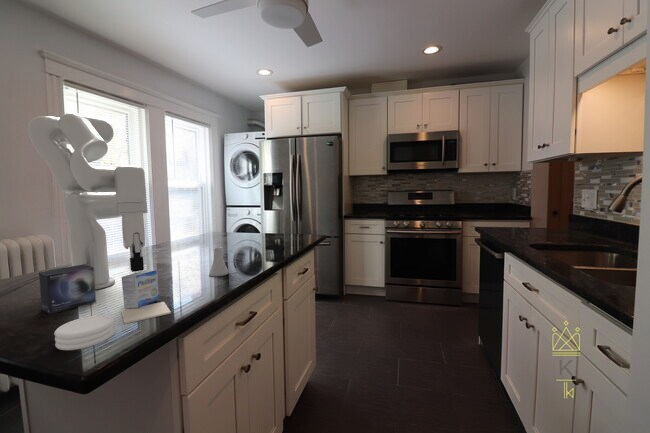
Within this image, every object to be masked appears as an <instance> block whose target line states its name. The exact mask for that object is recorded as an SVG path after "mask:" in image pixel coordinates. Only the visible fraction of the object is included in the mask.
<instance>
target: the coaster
mask: <svg viewBox="0 0 650 433" xmlns="http://www.w3.org/2000/svg"><path fill="white" fill-rule="evenodd" d="M114 321H115V319H114V318H113V317H111V316H110V315H106V314H105V315H103V314H102V315H98V314H97V315H91V316H89V315H88V316H86V317H82V318H77V319H74V320H70V321H68V322H66V323H64V324H62V325H59V327H58V328H56V330H54V333H53V335H54V336H55V337H54V341H55V344H54V345H55V348H56V349H58V350H59V351H61V350H62V351H76V350H82V349H87V348H90V347H93V346H95V345H98V344H101V343H103V342H105V341H107V340H108V339H110V338H112V336H114V334H115V331H116V330H115V323H114Z"/></svg>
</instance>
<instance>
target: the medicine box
mask: <svg viewBox="0 0 650 433" xmlns="http://www.w3.org/2000/svg"><path fill="white" fill-rule="evenodd" d="M158 280H159V279H158V271H157V270H156V269H146V270H142V271H136V272H133V273H130V274H127V275H124V276H121V286H122V287H121V288H122V298H123V308H124V309H131V308H140V307H142V306H145V305H150V304H152V303H154V302H156V301H158V300H159V299H160V294H159V293H160V292H159V284H158V283H159V282H158Z"/></svg>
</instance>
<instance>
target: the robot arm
mask: <svg viewBox="0 0 650 433" xmlns="http://www.w3.org/2000/svg"><path fill="white" fill-rule="evenodd" d="M27 128H28V130H27V131H28V136H29V140H30V141H31V144H32V147H34V150H36V152H37V153H38V154H39V156H40V157H41V158H43V160H44V162H45V163H46V165H47V166H48V168H49V170H50V173H51V175H52V176H53V178H54V180H55V182H56V184H57V186H58V188H59V189H60V191H62V192H63V193H65V194H67V195H65V197H64V198H63V201H62V208H63V213H64V215H65V216H64V217H65V218H66V219H65V220H66V221H67V227H68V233H69V234H68V235H69V243H70V244H69V245H70V255H71V256H70V257H71V266H77V265H83V264H85V265H88V266H91V267H94V282H95V291H96V290H99V289H103V288H108V287H110V286H113V285H114V284H115V283H116V279H115V278H113V277H110V270H109V268H110V267H109V257H108V243H107V234H106V231H105V228H103V226H102V225H101V223H99V222H98V220H106V219H107V220H108V219H109V220H110V219H118V218H121V230H122V243H123V244H122V245H123V248H124V249H126V250H129V254H130V257H129V265H130V270H131V272H133V273H136V272H141V271H144V269H145V265H144V256H143V248H144V247H145V246H146V234H145V228H146V227H145V219H144V214H148V213H149V212H148V202H147V201H148V200H147V187H146V174H145V170H144V169H143V167H142V166H137V165H119V166H117V167H115V166H101V165H100V166H99V165H98V166H96V165H91V164H90V163H92V162H95V161H98V160H100V159H102V158H104V157H105V156H106V154H107V153H108V148H109V147H108V144H109V143H110V142H111V141H112V140H113V139H114V129H113V125H112V124H111V123H110V122H109V121H108V120H107V119H105V118H102V117H100V116H99V117H98V116H94V115H93V116H92V115H87V114H83V113H78V112H77V113H76V112H68V113H65V114H62V115H61V116H60V117H56V116H49V115H46V116H43V115H42V116H41V115H40V116H36V117H34V118H32V119H31V120H30V121H29V122H28V127H27ZM107 143H108V144H107ZM64 144H66V145H70V146H71V147H72V149H73V151H72V150H71V149H70V148H68V147H66V146H65V145H64Z"/></svg>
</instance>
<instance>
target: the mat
mask: <svg viewBox="0 0 650 433" xmlns="http://www.w3.org/2000/svg"><path fill="white" fill-rule="evenodd" d="M120 312H121V316H122V319H123V324H124V325H126V324H129V323H135V322H140V321H143V320H149V319H153V318H157V317H161V316H165V315H170V314H172V311H171V310H170V309H169V306H168V305H167V304H166V303H165V301H161V302H156V303H149V304H147V305H145V306H142V307H140V308H125V309H122V310H121V311H120Z"/></svg>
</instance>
